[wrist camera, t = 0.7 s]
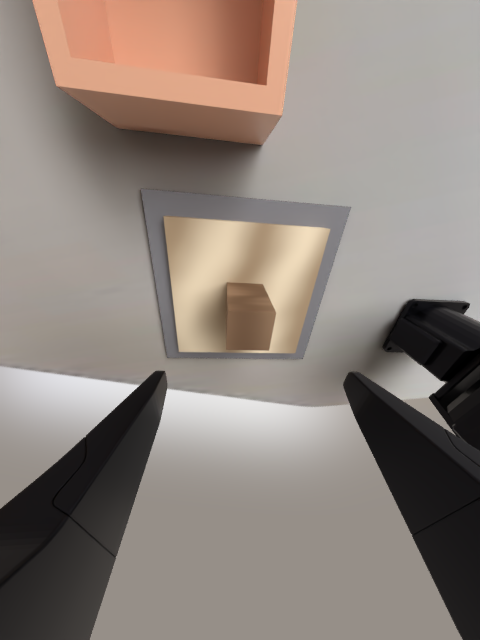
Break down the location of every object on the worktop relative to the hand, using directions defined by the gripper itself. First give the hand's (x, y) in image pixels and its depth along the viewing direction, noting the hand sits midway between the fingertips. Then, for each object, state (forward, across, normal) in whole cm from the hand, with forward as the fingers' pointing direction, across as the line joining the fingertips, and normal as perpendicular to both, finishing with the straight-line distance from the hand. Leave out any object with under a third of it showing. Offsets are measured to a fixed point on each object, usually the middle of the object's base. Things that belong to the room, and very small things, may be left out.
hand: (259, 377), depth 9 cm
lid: (+10, 0, 0) cm, 10 cm away
